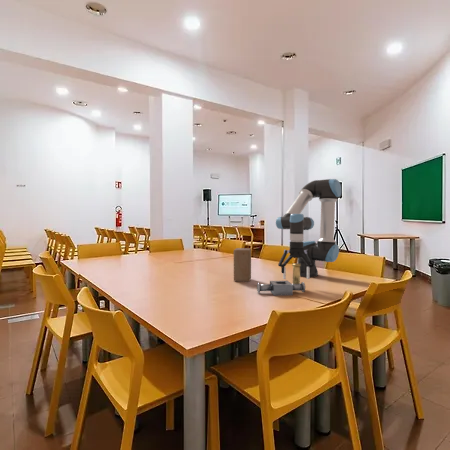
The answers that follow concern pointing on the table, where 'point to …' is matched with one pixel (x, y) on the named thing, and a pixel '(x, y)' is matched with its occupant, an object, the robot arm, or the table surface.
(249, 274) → the wooden block
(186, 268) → the table surface
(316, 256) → the robot arm
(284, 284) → the valve body
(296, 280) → the valve handle
